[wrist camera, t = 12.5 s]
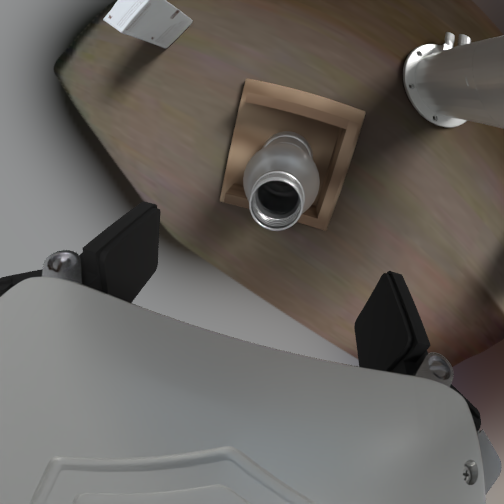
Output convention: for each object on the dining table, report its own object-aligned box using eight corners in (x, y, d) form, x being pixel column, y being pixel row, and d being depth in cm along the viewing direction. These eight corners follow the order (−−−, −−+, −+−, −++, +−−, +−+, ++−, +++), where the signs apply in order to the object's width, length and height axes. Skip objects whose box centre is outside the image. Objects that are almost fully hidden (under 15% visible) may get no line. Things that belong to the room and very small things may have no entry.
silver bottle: (257, 170, 37) (218, 235, 20) (270, 123, 33) (240, 142, 16) (303, 184, 37) (305, 262, 20) (318, 138, 33) (340, 174, 16)
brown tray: (247, 79, 32) (238, 74, 27) (363, 111, 31) (375, 112, 26) (221, 198, 41) (210, 213, 36) (325, 227, 41) (329, 246, 35)
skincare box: (167, 50, 30) (120, 36, 20) (148, 36, 29) (100, 21, 19) (195, 20, 28) (157, -6, 17) (176, 6, 27) (134, -19, 16)
